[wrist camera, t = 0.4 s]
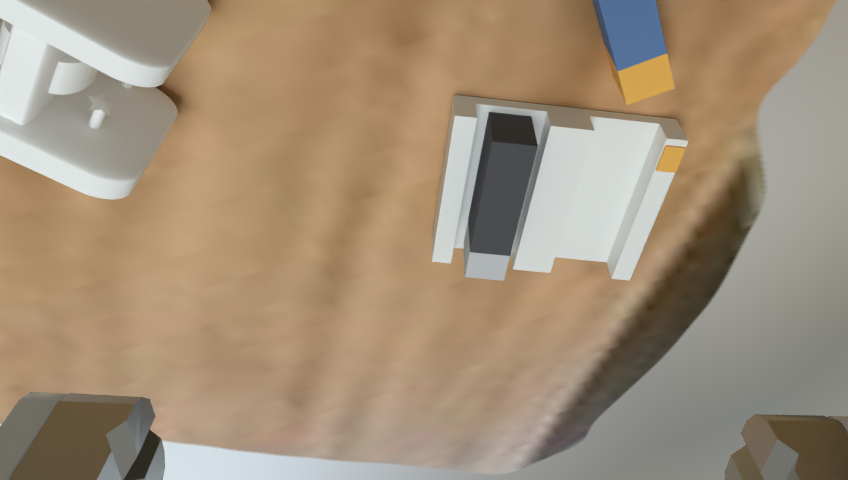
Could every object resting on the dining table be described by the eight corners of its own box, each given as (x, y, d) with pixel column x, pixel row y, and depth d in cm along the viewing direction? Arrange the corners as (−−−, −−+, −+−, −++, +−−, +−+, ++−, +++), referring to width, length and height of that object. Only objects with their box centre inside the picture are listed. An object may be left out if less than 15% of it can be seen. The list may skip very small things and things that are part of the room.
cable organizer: (234, 2, 42) (179, 83, 33) (176, 122, 48) (115, 219, 39) (-12, -148, 37) (-156, -100, 28) (-45, 6, 43) (-174, 87, 34)
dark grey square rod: (488, 111, 46) (492, 141, 43) (531, 116, 46) (537, 146, 43) (463, 243, 53) (464, 277, 50) (499, 247, 53) (503, 280, 50)
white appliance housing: (453, 94, 46) (454, 117, 43) (676, 119, 47) (689, 142, 44) (432, 237, 54) (431, 263, 52) (621, 255, 55) (630, 282, 53)
